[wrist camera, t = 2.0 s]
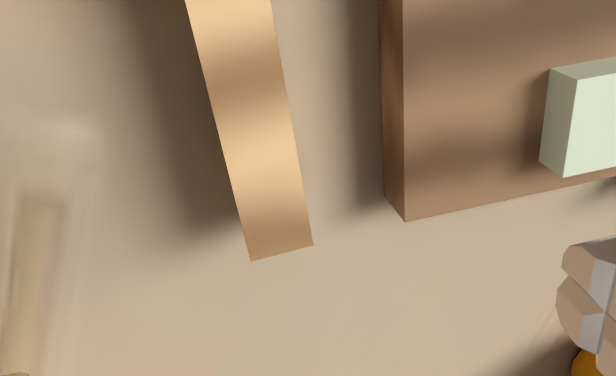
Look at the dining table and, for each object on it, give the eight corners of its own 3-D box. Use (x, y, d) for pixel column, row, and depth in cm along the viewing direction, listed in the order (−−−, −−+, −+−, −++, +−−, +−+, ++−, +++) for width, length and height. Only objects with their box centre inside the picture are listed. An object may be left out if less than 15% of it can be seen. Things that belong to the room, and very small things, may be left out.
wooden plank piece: (295, 194, 30) (318, 243, 25) (237, 208, 29) (250, 261, 25) (232, -145, 22) (250, -157, 17) (151, -132, 21) (149, -140, 17)
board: (629, 144, 33) (668, 164, 31) (384, 195, 31) (404, 222, 28) (706, -216, 25) (770, -230, 22) (372, -186, 22) (400, -198, 19)
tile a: (621, 143, 29) (650, 158, 27) (538, 161, 28) (562, 177, 27) (640, 51, 27) (673, 62, 25) (550, 68, 26) (577, 79, 24)
